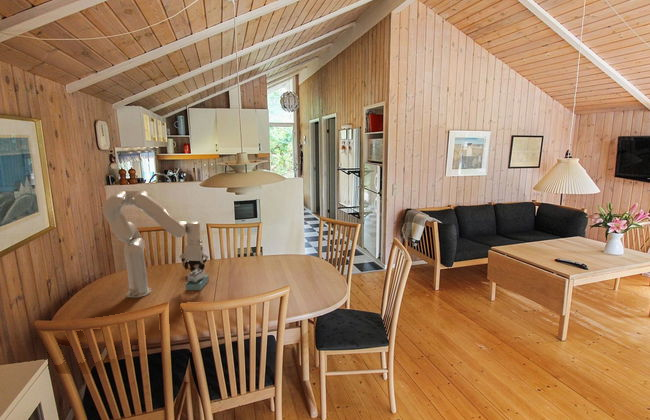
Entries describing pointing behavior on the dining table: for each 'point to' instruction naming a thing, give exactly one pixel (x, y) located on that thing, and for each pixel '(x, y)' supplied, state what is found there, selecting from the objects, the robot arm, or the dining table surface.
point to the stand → (197, 284)
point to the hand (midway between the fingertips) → (194, 269)
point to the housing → (196, 275)
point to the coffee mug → (194, 265)
